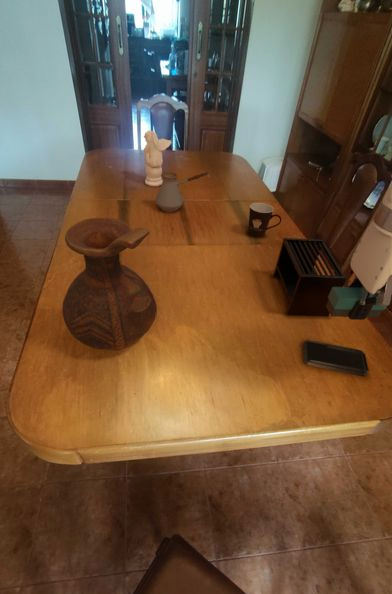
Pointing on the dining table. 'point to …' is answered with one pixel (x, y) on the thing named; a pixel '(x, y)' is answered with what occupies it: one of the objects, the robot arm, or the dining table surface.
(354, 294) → the teal rectangular block
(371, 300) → the robot arm
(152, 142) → the cherub figurine
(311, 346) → the phone
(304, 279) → the rack
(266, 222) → the coffee mug
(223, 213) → the dining table surface
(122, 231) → the jug
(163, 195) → the coffee pot
